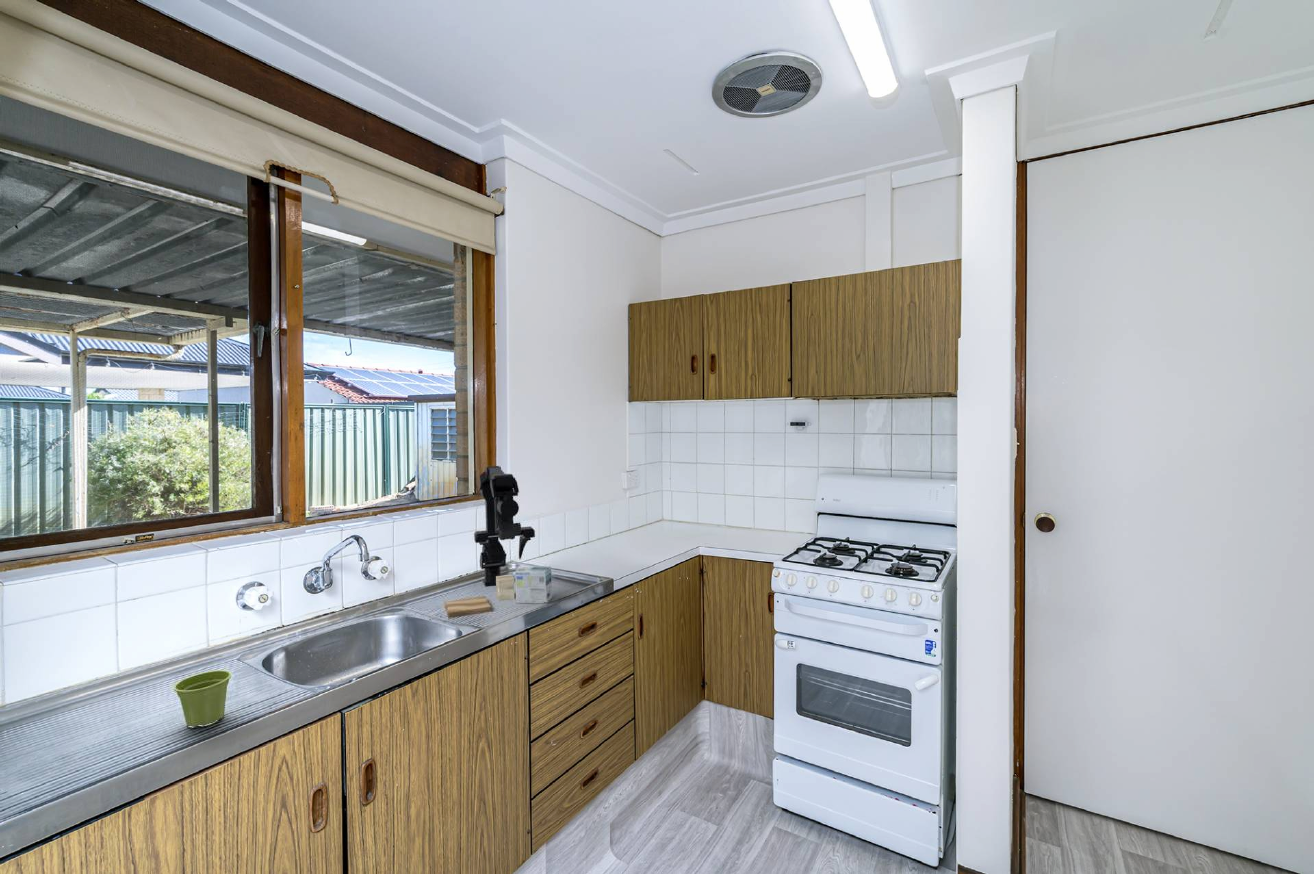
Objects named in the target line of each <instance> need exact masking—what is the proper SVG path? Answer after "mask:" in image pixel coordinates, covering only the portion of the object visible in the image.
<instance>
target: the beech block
mask: <svg viewBox="0 0 1314 874" xmlns="http://www.w3.org/2000/svg"><path fill="white" fill-rule="evenodd" d="M514 578H515V577H514V576H513V575H512V574H505V575H501V576H496V585H495V586H496V597H497V600H498V601H499V602H501V601H506V600H507V601H508V600H513V599H515V579H514Z"/></svg>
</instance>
